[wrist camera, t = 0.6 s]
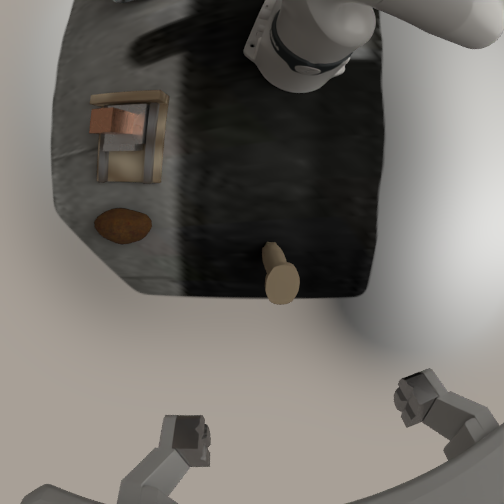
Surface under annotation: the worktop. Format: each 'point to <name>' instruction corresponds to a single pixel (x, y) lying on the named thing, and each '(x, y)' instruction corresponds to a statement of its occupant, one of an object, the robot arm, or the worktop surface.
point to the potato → (123, 225)
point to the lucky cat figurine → (122, 1)
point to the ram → (121, 126)
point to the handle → (279, 275)
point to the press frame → (150, 158)
